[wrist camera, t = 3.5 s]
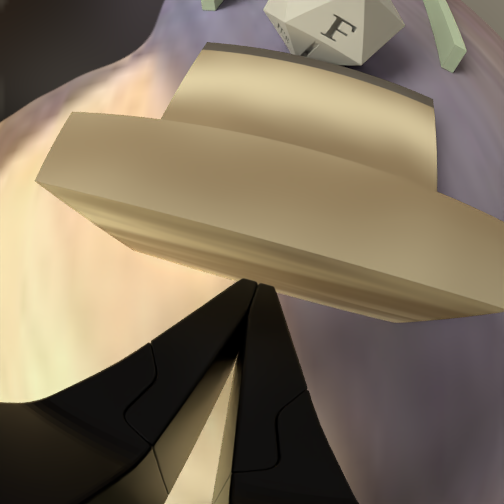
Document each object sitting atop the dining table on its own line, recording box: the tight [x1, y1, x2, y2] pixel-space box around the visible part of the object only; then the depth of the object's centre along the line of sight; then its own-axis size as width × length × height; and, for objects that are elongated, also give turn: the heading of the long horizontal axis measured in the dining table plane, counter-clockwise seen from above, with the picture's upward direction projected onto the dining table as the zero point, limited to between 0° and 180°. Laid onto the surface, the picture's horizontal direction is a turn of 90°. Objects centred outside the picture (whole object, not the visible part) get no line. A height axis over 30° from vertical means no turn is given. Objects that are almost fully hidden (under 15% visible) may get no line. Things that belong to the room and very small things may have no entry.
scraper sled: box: [35, 42, 504, 323], centre depth 12 cm, size 13×14×8 cm
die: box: [263, 0, 405, 65], centre depth 15 cm, size 8×9×10 cm
